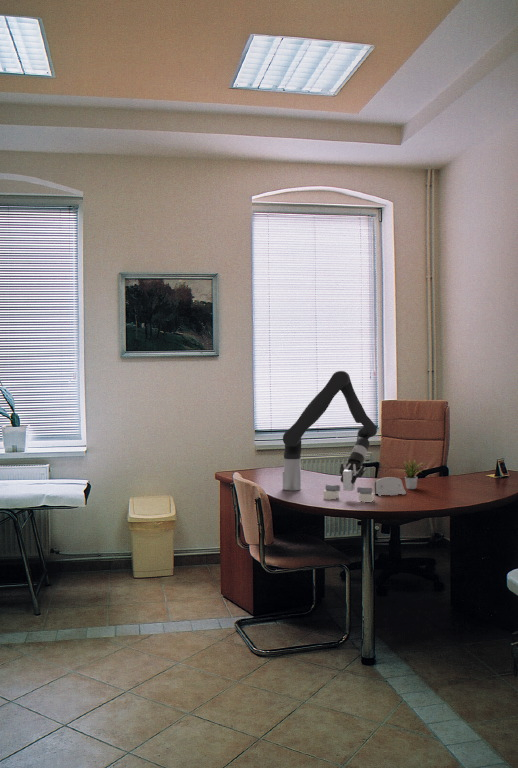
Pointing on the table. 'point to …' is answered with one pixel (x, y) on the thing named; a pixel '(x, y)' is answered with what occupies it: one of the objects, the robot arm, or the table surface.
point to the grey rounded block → (388, 486)
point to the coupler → (348, 480)
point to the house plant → (411, 475)
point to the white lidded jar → (331, 491)
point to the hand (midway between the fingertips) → (347, 482)
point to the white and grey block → (365, 494)
